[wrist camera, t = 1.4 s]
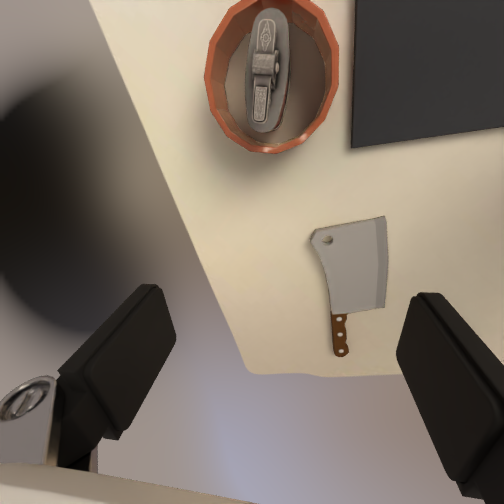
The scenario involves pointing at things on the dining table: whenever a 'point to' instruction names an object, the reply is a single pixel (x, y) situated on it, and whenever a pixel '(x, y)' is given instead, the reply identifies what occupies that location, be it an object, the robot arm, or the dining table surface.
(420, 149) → the dining table surface
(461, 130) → the mat
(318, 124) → the orange hollow ring
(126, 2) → the dining table surface
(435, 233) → the dining table surface
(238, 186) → the dining table surface
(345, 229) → the kitchen cleaver
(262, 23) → the lighter
